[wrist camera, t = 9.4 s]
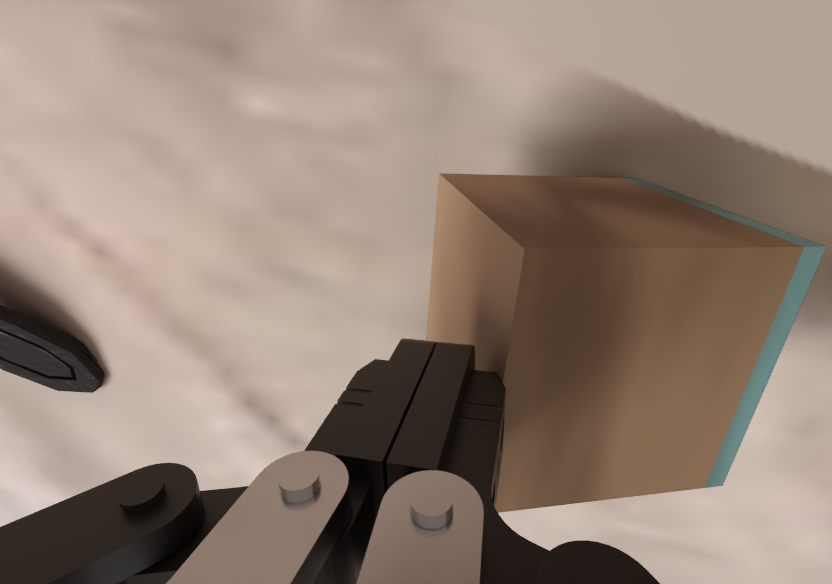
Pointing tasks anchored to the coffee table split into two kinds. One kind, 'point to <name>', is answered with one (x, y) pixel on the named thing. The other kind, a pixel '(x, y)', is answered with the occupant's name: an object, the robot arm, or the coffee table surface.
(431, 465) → the robot arm
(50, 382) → the hairbrush
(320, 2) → the coffee table surface
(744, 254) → the two tone block
